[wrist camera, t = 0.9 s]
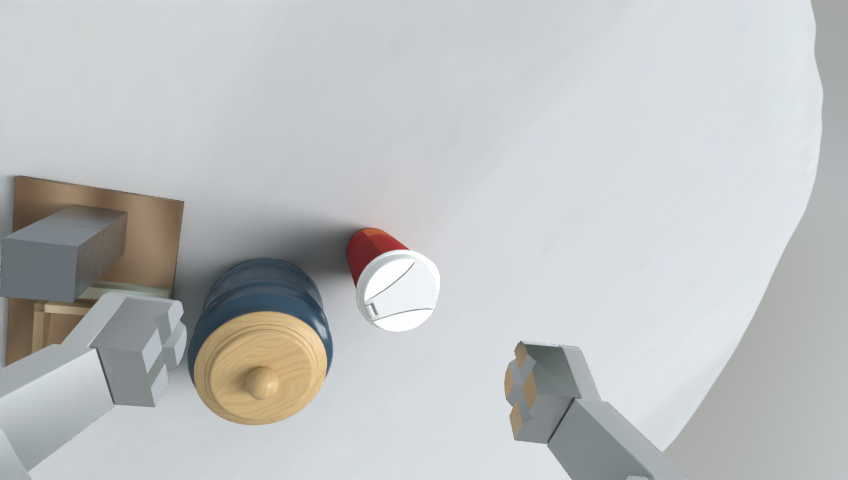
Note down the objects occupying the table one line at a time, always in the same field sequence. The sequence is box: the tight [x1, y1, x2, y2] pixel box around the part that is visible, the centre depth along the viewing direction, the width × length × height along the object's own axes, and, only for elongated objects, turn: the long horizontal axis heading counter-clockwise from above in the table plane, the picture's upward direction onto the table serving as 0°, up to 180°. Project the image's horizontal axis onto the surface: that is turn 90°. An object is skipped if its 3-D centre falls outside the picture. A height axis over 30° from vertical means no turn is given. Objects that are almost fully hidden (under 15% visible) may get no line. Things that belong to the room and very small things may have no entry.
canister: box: [188, 259, 333, 425], centre depth 46 cm, size 13×13×18 cm
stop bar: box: [0, 204, 128, 302], centre depth 40 cm, size 4×4×13 cm
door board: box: [0, 176, 184, 366], centre depth 46 cm, size 14×20×3 cm
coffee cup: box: [347, 228, 440, 332], centre depth 49 cm, size 8×8×15 cm
